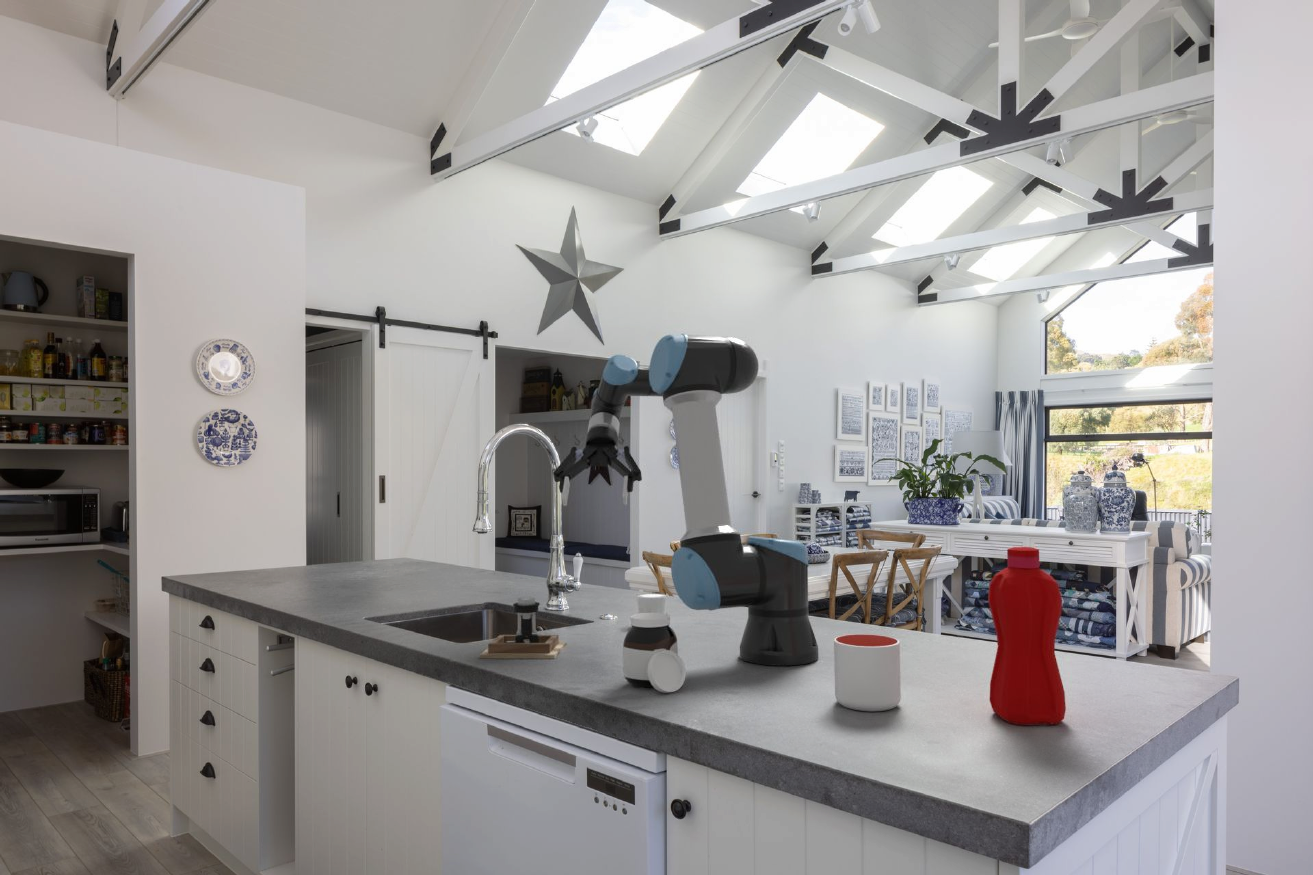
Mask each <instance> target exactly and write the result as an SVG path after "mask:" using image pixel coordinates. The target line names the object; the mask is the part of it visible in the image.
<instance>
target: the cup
mask: <svg viewBox="0 0 1313 875" xmlns="http://www.w3.org/2000/svg"><path fill="white" fill-rule="evenodd" d="M900 643H901V642H900V641H899V639H897V638H894V637H893V636H892V637H891V636H888V635H881V634H871V633H869V634H868V633H867V634H866V633H863V634H861V633H858V634H857V633H855V634H854V633H853V634H845V635H839V636H837V637H835V638H834V639H833V650H834V651H833V659H834V663H833V665H834V667H833V668H834V696H835V699H836V701H837V702H838V704H840V705H841V706H843V707H845V708H848V709H851V710H854V711H860V712H861V711H862V712H884V711H888V710H892V709H894V708H896V707H897V706H898V705H899V704H900V702H901V700H902V691H901V690H902V688H901V685H902V684H901V644H900Z"/></svg>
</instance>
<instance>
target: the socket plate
mask: <svg viewBox="0 0 1313 875" xmlns="http://www.w3.org/2000/svg"><path fill="white" fill-rule="evenodd" d="M515 635H516V634H499V635H498V636H496V637H495V638H494V639H493V640H492V641H490V642H488V645H487V648H486V649H485V650H484V651H483V652H482V653H480V654H479V656H478V657H479V658H478V659H555V658H556V657H557V656H558V655H559V654H560V652H562V650H563V649H564V648H565V647H566V646H567V641H560V640H559V634H538V637H539V643H515V642H507V641H515Z"/></svg>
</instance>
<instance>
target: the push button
mask: <svg viewBox="0 0 1313 875" xmlns="http://www.w3.org/2000/svg"><path fill="white" fill-rule="evenodd" d="M540 605H541V604H540V602H537V601H536V598H535V597H519V598H517V602H515V603H512V606H513V607H514V611H513V612H515V613H517V631H516V634H514V635H515V641H507V642H515V643H539V637H538V635H539V634H538V633H537V632H538V630H536V613H537V612H538V611H539V606H540Z"/></svg>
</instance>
